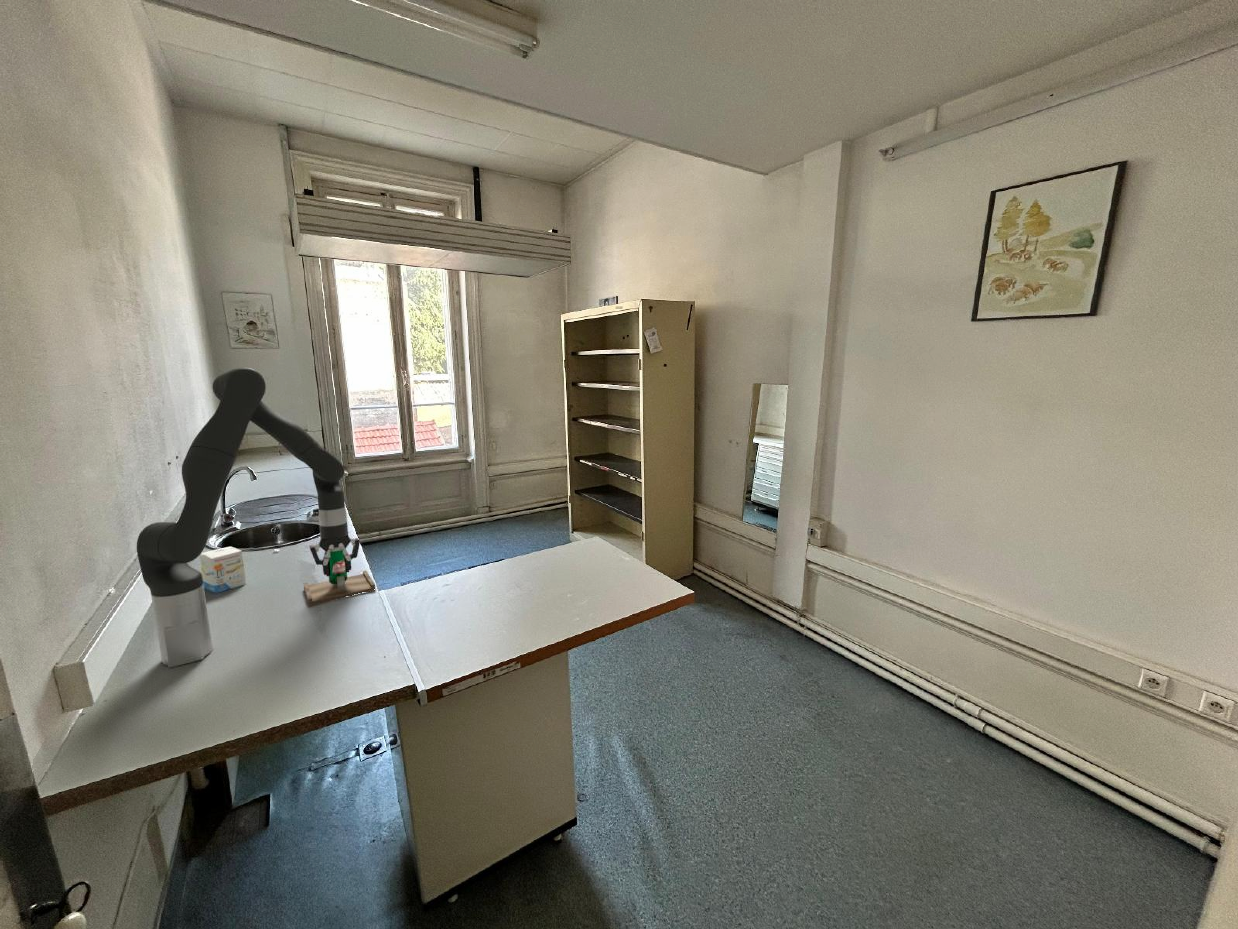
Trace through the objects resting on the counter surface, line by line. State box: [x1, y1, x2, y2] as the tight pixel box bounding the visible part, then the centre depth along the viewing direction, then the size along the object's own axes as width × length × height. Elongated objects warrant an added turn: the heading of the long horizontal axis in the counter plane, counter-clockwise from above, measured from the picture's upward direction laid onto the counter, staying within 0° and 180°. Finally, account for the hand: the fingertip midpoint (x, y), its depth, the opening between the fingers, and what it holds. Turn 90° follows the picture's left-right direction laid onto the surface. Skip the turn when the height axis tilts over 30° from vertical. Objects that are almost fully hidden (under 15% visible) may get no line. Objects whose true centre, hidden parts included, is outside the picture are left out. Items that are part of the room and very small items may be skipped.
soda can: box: [326, 547, 348, 584], centre depth 152 cm, size 5×5×12 cm
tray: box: [303, 570, 376, 607], centre depth 153 cm, size 14×18×6 cm
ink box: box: [199, 546, 247, 594], centre depth 155 cm, size 9×8×12 cm
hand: (337, 573), depth 153 cm, fingers closed on soda can, 5 cm apart
